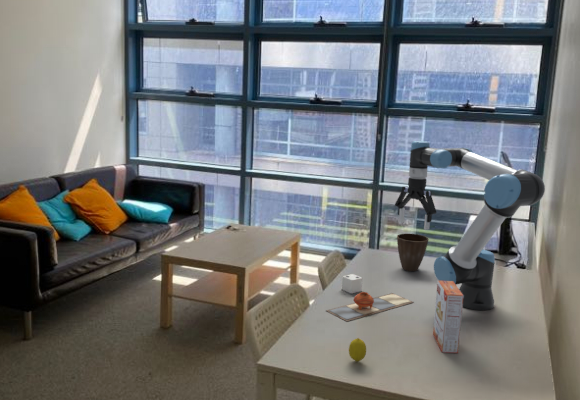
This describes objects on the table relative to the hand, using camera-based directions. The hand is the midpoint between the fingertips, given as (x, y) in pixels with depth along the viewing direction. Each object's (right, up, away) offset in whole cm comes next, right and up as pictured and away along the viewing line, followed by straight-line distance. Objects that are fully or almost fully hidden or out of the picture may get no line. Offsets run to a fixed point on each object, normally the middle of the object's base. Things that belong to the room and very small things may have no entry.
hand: (413, 226), depth 248 cm
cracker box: (0, -39, -49) cm, 63 cm away
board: (-21, -31, -18) cm, 42 cm away
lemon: (-32, -41, -64) cm, 83 cm away
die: (-27, -28, -1) cm, 39 cm away
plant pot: (+5, -22, +31) cm, 39 cm away
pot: (-25, -32, -21) cm, 45 cm away
